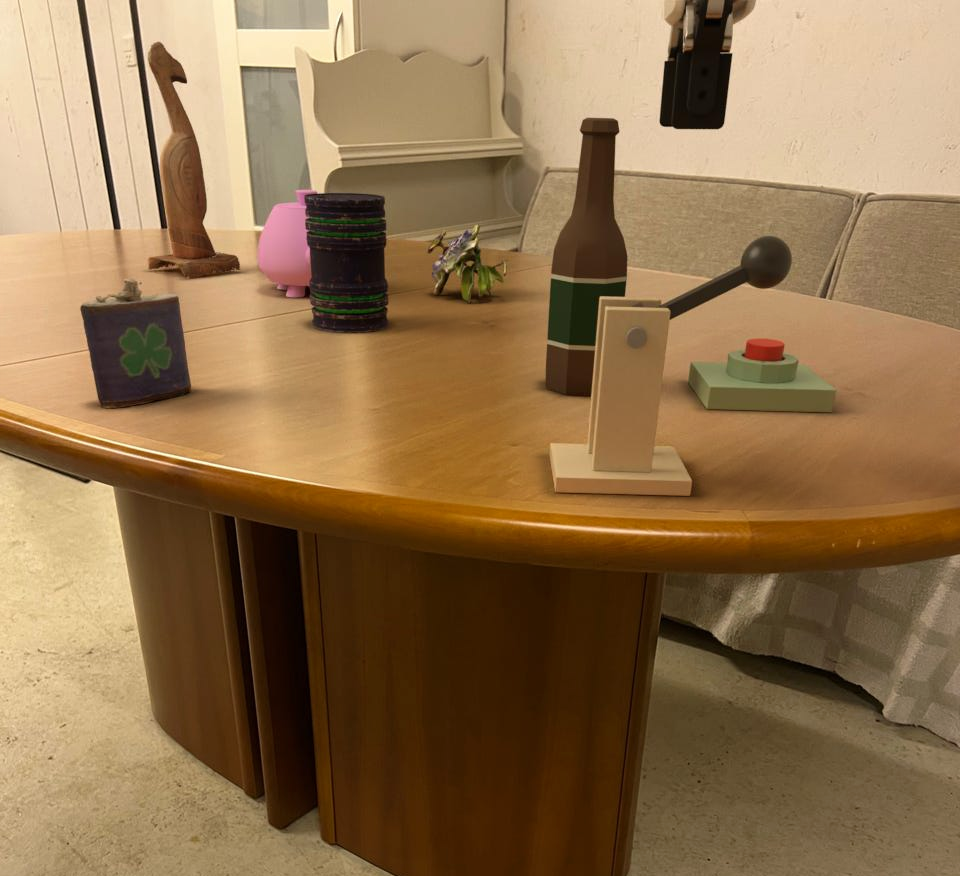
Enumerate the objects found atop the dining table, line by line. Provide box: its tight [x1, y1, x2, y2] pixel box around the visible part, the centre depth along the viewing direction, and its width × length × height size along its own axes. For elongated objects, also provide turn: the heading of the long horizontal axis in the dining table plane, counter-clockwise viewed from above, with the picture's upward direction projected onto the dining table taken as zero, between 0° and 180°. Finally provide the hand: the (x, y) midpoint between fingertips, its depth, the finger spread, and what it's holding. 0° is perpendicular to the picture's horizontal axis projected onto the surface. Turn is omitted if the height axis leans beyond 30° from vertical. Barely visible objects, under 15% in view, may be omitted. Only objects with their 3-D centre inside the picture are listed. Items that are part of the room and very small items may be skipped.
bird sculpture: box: [147, 41, 241, 279], centre depth 145 cm, size 11×12×32 cm
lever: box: [632, 235, 793, 321], centre depth 65 cm, size 13×3×3 cm, turn 89°
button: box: [744, 337, 786, 362], centre depth 91 cm, size 4×4×2 cm
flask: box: [79, 278, 192, 409], centre depth 85 cm, size 9×3×11 cm, turn 136°
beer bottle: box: [545, 117, 628, 397], centre depth 89 cm, size 8×8×24 cm
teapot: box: [256, 189, 318, 298], centre depth 135 cm, size 22×16×14 cm
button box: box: [687, 348, 837, 413], centre depth 92 cm, size 12×10×4 cm
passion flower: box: [427, 224, 509, 304], centre depth 137 cm, size 11×11×12 cm
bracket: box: [549, 296, 693, 497], centre depth 69 cm, size 10×8×13 cm
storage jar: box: [304, 192, 389, 334], centre depth 115 cm, size 10×10×15 cm
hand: (688, 127), depth 62 cm, fingers open, 9 cm apart
